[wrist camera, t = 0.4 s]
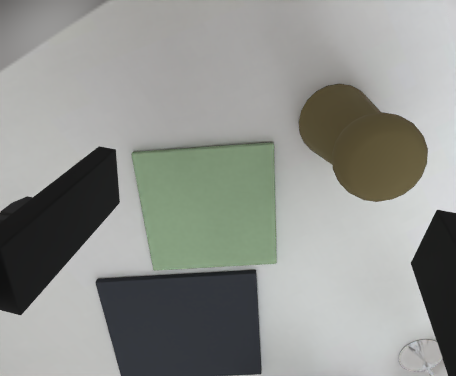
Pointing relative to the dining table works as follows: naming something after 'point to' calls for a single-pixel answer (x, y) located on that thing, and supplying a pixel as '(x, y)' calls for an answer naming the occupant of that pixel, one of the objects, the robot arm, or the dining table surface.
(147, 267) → the dining table surface
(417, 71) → the dining table surface
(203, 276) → the charcoal mat
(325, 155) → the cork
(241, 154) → the sage mat
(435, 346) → the wineglass
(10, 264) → the robot arm
